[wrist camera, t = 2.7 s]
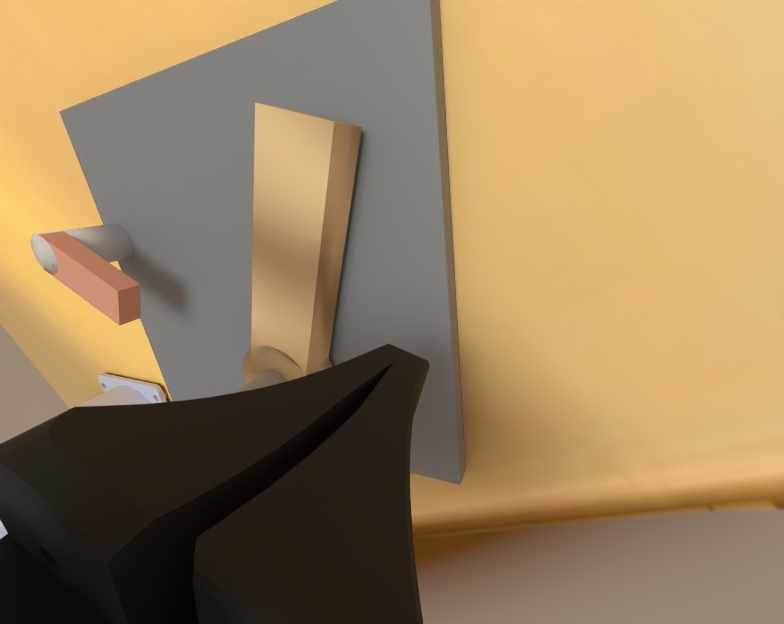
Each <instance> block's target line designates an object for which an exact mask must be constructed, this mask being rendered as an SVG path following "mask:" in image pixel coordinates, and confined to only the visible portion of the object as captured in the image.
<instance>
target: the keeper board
mask: <svg viewBox="0 0 784 624" xmlns="http://www.w3.org/2000/svg"><path fill="white" fill-rule="evenodd" d="M255 103H260V104H265V105H270V106H275V107H280V108H285V109H290V110H294V111H298V112H302V113H306V114H310V115H315V116H319V117H323V118H327V119H331V120H335V121H339V122H343V123H348V124H352V125H356V126H360V127H362V129H361V136H360V143H359V150H358V157H357V164H356V170H355V177H354V184H353V191H352V198H351V205H350V212H349V219H348V226H347V232H346V239H345V246H344V253H343V260H342V267H341V274H340V281H339V288H338V294H337V301H336V308H335V315H334V322H333V329H332V336H331V343H330V350H329V356H328V358H329V359H330V362H331V364H332V366H335V365H337V364H340V363H342V362H345V361H348V360H350V359H352V358H355V357H357V356H360V355H362V354H364V353H367V352H369V351H371V350H374V349H376V348H378V347H381V346H383V345H386V344H388V343H389V344H391V345H393V346H396V347H398V348H400V349H402V350H405V351H407V352H409V353H412V354H414V355H416V356H419V357H421V358H423V359H425V360H428V362H429V365H430V367H429V370H428V373H427V376H426V379H425V383H424V386H423V389H422V392H421V395H420V398H419V401H418V405H417V408H416V411H415V414H414V416H413V424H412V435H411V449H410V472H412V473H416V474H420V475H424V476H428V477H432V478H436V479H440V480H443V481H447V482H451V483H455V484H459V485H461V482H462V478H463V475H464V472H465V453H464V435H463V417H462V399H461V381H460V363H459V345H458V327H457V309H456V291H455V274H454V256H453V238H452V220H451V202H450V184H449V166H448V148H447V130H446V112H445V94H444V76H443V59H442V41H441V23H440V5H439V0H338V1H335V2H333V3H330V4H328V5H325V6H323V7H320V8H318V9H315V10H313V11H310V12H308V13H305V14H303V15H300V16H298V17H295V18H293V19H290V20H288V21H285V22H283V23H280V24H278V25H275V26H273V27H270V28H268V29H265V30H263V31H260V32H258V33H255V34H253V35H250V36H248V37H245V38H242V39H240V40H237V41H235V42H232V43H230V44H227V45H225V46H222V47H220V48H217V49H215V50H212V51H210V52H207V53H205V54H202V55H200V56H197V57H195V58H192V59H190V60H187V61H185V62H182V63H180V64H177V65H175V66H172V67H170V68H167V69H165V70H162V71H160V72H157V73H155V74H152V75H150V76H147V77H145V78H142V79H140V80H137V81H135V82H132V83H130V84H127V85H125V86H122V87H120V88H117V89H115V90H112V91H110V92H107V93H105V94H102V95H100V96H97V97H95V98H92V99H90V100H87V101H85V102H82V103H80V104H77V105H75V106H72V107H70V108H67V109H65V110H62V111H60V114H61V117H62V119H63V122H64V125H65V127H66V130H67V132H68V135H69V137H70V140H71V143H72V145H73V148H74V150H75V153H76V155H77V158H78V160H79V163H80V166H81V168H82V171H83V173H84V176H85V178H86V181H87V183H88V186H89V189H90V191H91V194H92V196H93V199H94V201H95V204H96V206H97V209H98V212H99V214H100V217H101V219H102V222H103V224H104V225H101V226H93V227H86V228H78V229H71V230H63V231H56V232H48V233H41V234H34V235H32V237H31V246H32V250H33V253H34V255H35V257H36V259H37V260H38V262H39V264H40V265H41V266H42V267H43V268H44V269H45V271H47V272H48V273H49V274H51V275H52V276H53V277H55V278H56V279H58V280H59V281H60V282H62V283H63V284H64V285H66V286H67V287H68V288H70V289H71V290H72V291H74V292H75V293H76V294H78V295H79V296H81V297H82V298H83V299H85V300H86V301H87V302H89V303H90V304H91V305H93V306H94V307H95V308H97V309H98V310H99V311H101V312H102V313H104V314H105V315H106V316H108V317H109V318H110V319H112V320H113V321H114V322H116V323H117V324H118V325H122V324H125V323H128V322H130V321H133V320H136V319H138V318H140V319H141V322H142V324H143V327H144V329H145V332H146V334H147V337H148V339H149V342H150V345H151V347H152V350H153V352H154V355H155V357H156V360H157V362H158V365H159V368H160V370H161V373H162V375H163V378H164V380H165V383H166V386H167V388H168V391H169V393H170V396H171V398H172V401H183V400H191V399H199V398H207V397H214V396H219V395H225V394H231V393H237V392H239V390H240V389H241V388H242V387H243V386H245V385H246V383H245V380H244V376H243V368H242V367H243V360H244V357H245V355H246V353H247V352H248V351H249V350H250V349H251V324H252V262H253V201H254V139H255ZM114 261H118V263H119V265H120V268H121V270H122V271H120V270H119V269H117V268H116V267H114V266H113V265H111V264H110V263H109V262H114Z"/></svg>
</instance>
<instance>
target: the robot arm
mask: <svg viewBox="0 0 784 624" xmlns="http://www.w3.org/2000/svg"><path fill="white" fill-rule="evenodd" d="M429 367H430V365H429V362H428V360H425V359H423V358H421V357H419V356H416V355H414V354H412V353H409V352H407V351H405V350H402V349H400V348H398V347H396V346H393V345H391V344H389V343H388V344H386V345H383V346H381V347H378V348H376V349H374V350H371V351H369V352H367V353H364V354H362V355H360V356H357V357H355V358H352V359H350V360H348V361H345V362H342V363H340V364H337V365H335V366H332V367H330V368H327V369H324V370H321V371H318V372H315V373H312V374H309V375H306V376H303V377H300V378H297V379H294V380H290V381H287V382H283V383H279V384H275V385H271V386H267V387H263V388H258V389H253V390H248V391H242V392H237V393H231V394H225V395H219V396H214V397H207V398H199V399H191V400H183V401H172V402H167V400H166V398H165V395H164V393H163V390H162V388H161V387H160V386H159V385H157V384H153V383H148V382H144V381H139V380H134V379H129V378H124V377H120V376H115V375H110V374H105V373H102V374H100V375H99V376H98V380H99V382H100V384H101V386H102V388H103V391H104V392H103V393H101V394H99V395H97V396H95V397H93V398H91V399H89V400H87V401H85V402H83V403H81V404H79V405H77V406H75V407H73V408H71V409H69V410H68V411H65V412H64V413H62V414H59V415H58V416H56V417H54V418H52V419H50V420H47V421H46V422H44V423H41V424H40V425H37V426H36V427H33V428H31V429H29V430H27V431H25V432H24V433H21V434H19V435H17V436H15V437H14V438H12V439H10V440H7V441H5V442H4V443H1V444H0V624H423V618H422V612H421V605H420V598H419V590H418V582H417V575H416V565H415V556H414V546H413V534H412V518H411V502H410V449H411V435H412V424H413V416H414V414H415V411H416V408H417V405H418V401H419V398H420V395H421V392H422V389H423V386H424V383H425V379H426V376H427V373H428V370H429Z"/></svg>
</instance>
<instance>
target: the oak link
mask: <svg viewBox="0 0 784 624" xmlns="http://www.w3.org/2000/svg"><path fill="white" fill-rule="evenodd" d="M361 129H362V127H360V126H356V125H352V124H348V123H343V122H339V121H335V120H331V119H327V118H323V117H319V116H315V115H310V114H306V113H302V112H298V111H294V110H290V109H285V108H280V107H275V106H270V105H265V104H260V103H255V139H254V201H253V262H252V324H251V349H250V350H249V351H248V352H247V353H246V355H245V357H244V360H243V367H242V368H243V376H244V380H245V383H246V385H245V386H243V387H242V388H241V389H240V390H239V392H242V391H248V390H253V389H258V388H263V387H267V386H271V385H275V384H279V383H283V382H287V381H290V380H294V379H297V378H300V377H303V376H306V375H309V374H312V373H315V372H318V371H321V370H324V369H327V368H330V367H332V364H331V362H330V359H329V358H328V356H329V350H330V343H331V336H332V329H333V322H334V315H335V308H336V301H337V294H338V288H339V281H340V274H341V267H342V260H343V253H344V246H345V239H346V232H347V226H348V219H349V212H350V205H351V198H352V191H353V184H354V177H355V170H356V164H357V157H358V150H359V143H360V136H361Z"/></svg>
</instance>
